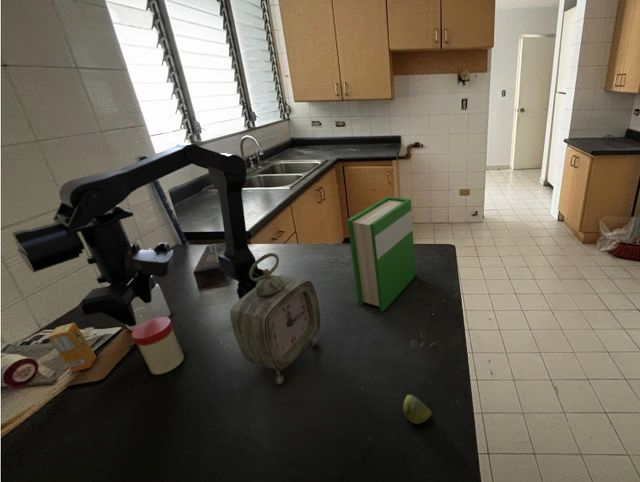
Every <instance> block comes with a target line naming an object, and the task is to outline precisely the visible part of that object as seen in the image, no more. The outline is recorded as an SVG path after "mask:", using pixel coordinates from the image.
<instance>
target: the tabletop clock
mask: <svg viewBox="0 0 640 482" xmlns="http://www.w3.org/2000/svg"><path fill="white" fill-rule="evenodd" d="M269 257H274V258H275V264H274V265H273V267H272V268H271V269H270V270H269V269H268V268H265V269H263V270H264V271H263V274H264V275H263V276H261V277H259V278H253V277H252V274H253V271H254V269H255V267H256V266H259V264H260V263H261V262H262V261H264V260H265V259H268V258H269ZM279 262H280V258H279V256H278V254H276V253H273V252H270V253H269V252H268V253H266V254H263V255H262V256H260V257H259V258H258V259H256V261H255V262H254V264H253V265H252V267H251V269H250V274H249V275H250V279H251V280H252V281H259V282H258V283H257V284H256V287H255V288H254V289H252V290H251V291H250V292H249V293H247V294H246V295H245V296H244V297H242V298H241V299H240V300H239V299H238V300H237V301H236V302H235V303H234V304H233V306H232V307H231V308H230V322H231V326H232V330H233V335H234V338H235V339H236V342H237V344H238V347H239V349H240V351H241V354H242V355H243V357H244V358H245V360H247V361H248V362H249V363H252V364H255V365H258V366H261V367H263V368H267V369H271V370H274V371H275V373H276V377H275V378H274V382H275V384H276V385H281V384H283V383H284V380H285V378H284V376H283V375H281V372H282V371H284V370H285V369H287V368H288V367H290V366H291V364H293V362H294V361H295V360H297V358H299V357H300V356H301V354H302V353H303V352H304V351H305V350H306V349H307V347H308V346H309V345H310V346H316V345H317V343H318V339H317V338H316V336H317V334H318V333H319V331H320V327H321V313H320V306H319V300H318V296H317V293H316V290H315V287H314V285H313V283H312V282H311V280H309V279H306V278H305V279H304V278H300V277H293V276H289V275H283V274H279V275H275V274H273V273H274V272H275V271H276V270H277V268H278V266H279Z"/></svg>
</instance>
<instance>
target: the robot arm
mask: <svg viewBox="0 0 640 482" xmlns="http://www.w3.org/2000/svg"><path fill="white" fill-rule="evenodd" d="M190 165H194V166H196V167H200V168H202V169H206V170H207V171H208V174H209V178H210V180H211V182H212V184H213V185H214V187H215V188H216V190H217V192H218V197H219V203H220V205H219V206H220V210H221V218H222V227H223V233H224V234H223V235H224V240H225V241H224V243H226V250H225V252H224V255H219V256H218V260H219V263H220V267H219V270H220V271H222V273H223V274H224V275H225V276H226V277H229V279H231V280H232V281H235V282H237V287H236V293H237V296H238V301H239V300H240V299H241V298H242V297H244V296H245V295H246V294H247V293H249V292H250V291H251V290H252V289H254V288H255V287H256V284H257V283H258V282H259V281H252V280H251V279H250V275H249V274H250V269H251V267H252V265H253V264H254V262H255V261H257V259H256V256H254V254H253V252H252V250H251V249H250V247H249V243H248V235H247V228H246V225H247V224H246V217H245V210H244V201H243V189H244V186H245V185H246V182H247V172H248V166H247V161H246V160H245V159H244V158H243V157H242V156H240V155H238V154H233V153H222V152H217V151H214V150H210V149H208V148H205V147H202V146H199V145H197V144H195V143H188V142H180V143H178V144H177V145H175V146H174V147H171V148H167V149H166V150H164V151H161V152H159V153H156V154H154V155H152V156H151V155H150V156H149V157H147V158H144V159H142V160H141V159H140V160H139V161H137V162H135V163H132V164H129V165H126V166H124V167H122V168H119V169H116V170H113V171H112V170H111V171H107V172H102V173H96V174H91V175H86V176H82V177H78V178H73V179H70V180H68V181H67V182H65V183H63V184H62V185H61V187H60V189H59V193H58V194H59V200H60V201H61V202H60V204H59V205H58V207H57V210H56V212H55V215H54V216H53V219H52V220H53V222H51V223H48V224H44V225H41V226H37V227H33V228H27V229H20V230H17V231H14V232H12V233H11V235H12V237H13V238H14V241H15V244H16V246H17V249H16V250H17V252H18V254H19V256H20V257H21V259H22V260H23V262H24V263H25V265H26V266H27V267H28V269H29V270H30V271H31V272H32V273H36V272H39V271H42V270H46V269H49V268H51V267H54V266H57V265H61V264H63V263H66V262H68V261H69V262H70V261H72V260H74V259H77V258H80V255H81V254H83V253H84V252H83V250H85V245H86V247H87V249H88V251H89V254H90V256H88V258H87V259H86V261H87V263H88V265H95V266H96V268H97V271H98V272H99V276H98V277H97V278H96V281H97V283H98V284H103V283H107V284H109V285H107V286H102V287H95V288H93V289H92V290H91V291H89V293H88V294H86V295H85V297H84V298H82V300H81V301H80V303H79V304H78V305H77V306H78V308H79V309H80V311H81V313H82V315H84V316H88V315H94V314H99V313H101V314H104V315H105V316H108V317H111V318H112V319H114V320H116V321H117V322H118V321H119V322H120V323H122V324H124V325H125V326H126V325H127V326H130V327H131V326H135V325H136V318H135V315H134V311H133V308H132V304H131V302H132V301H133V299H134V298H135V297H136V295H137V296H138V297H139V298H140V299H141V300H142V301H143V302H144V303H150V302H151V301H152V297H151V275H153V276H156V277H167V275H168V274H169V272H170V271H171V269H173V263H174V258H175V256H176V253H175V252H174V250H173V249H172V248H171V246H170V244H169V242H163V241H160V242H158V244H157V245H156V246H155V247H154V248H152V247H149V248H148V249H141V247H140V245H139V244H138V243H137V242H136V241H135V242H131V240H130V239H129V237H128V234H127V232H126V230H125V227H124V224H123V222H122V220H125V219H127V218H128V219H129V218H131V217H133V216H134V212H132V211H129V210H126V209H123V208H122V207H120V206H119V204H121V203H123V202H124V201H125V200H126V199H127V198H128V197H129V196H130V195H131V194H132V193H133V192H135V191H136V190H138V189H140V188H142V187H144V186H146V185H148V184H151V183H154V182H156V181H158V180H159V179H162V178H164V177H166V176H168V175H170V174H172V173H175V172H177V171H180V170H181V169H184V168H185V167H188V166H190ZM78 233H80V235H81V237H82V239H83V240H82V239H81V237H80V235H79V234H78ZM83 241H84V242H83ZM84 243H85V245H84ZM258 266H259V265H257V266H256V267H255V269H254V271H253V274H252V277H253V278H259V277H261V276H263V275H264V274H263V271H264V270H265V269H262V268H259V267H258ZM132 290H133V291H134V292H135V294H134V295H132V294H133V291H132Z"/></svg>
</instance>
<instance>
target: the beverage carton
mask: <svg viewBox="0 0 640 482" xmlns="http://www.w3.org/2000/svg"><path fill="white" fill-rule="evenodd" d="M225 250H226V242H222V243H211V244H209V245H206V247H205V248H204V250H203V253H202V254H201V256H200V258H199V260H198V262H197V264H196V266H195V268H194V270H193V278H194V280H195V284H196V286H197V290H199V291H200V290H205V289H209V288H215V287H220V286H226V285H228V282H229V279H230V278H229V277H226V276H225V275H224V274H223V273H222V271H220V270H219V267H220V263H219V260H218V256H219V255H224V252H225Z"/></svg>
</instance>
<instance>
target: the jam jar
mask: <svg viewBox="0 0 640 482" xmlns="http://www.w3.org/2000/svg"><path fill="white" fill-rule="evenodd" d="M137 347H138V349H139V352H140V353H141V355H142V357H143V359H144V362H145V364H146V365H147V367H148V370H149V372H150V373H151V374H153V375H163V374H165V373H168V372H171V371H172V370H175V368H177V367H179V365H180V364H181V363H182V362H183V361H184V359H185V355H184V352H183V349H182V347H181V345H180V343H179V341H178V338H177V335H176V333H175V331H174V328H173V329H172V331H171V332H170V333H169V334H168V335H167V336H166V337H164V338H163V339H161V340H159V341H157V342H155V343H152V344H148V345H137Z"/></svg>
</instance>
